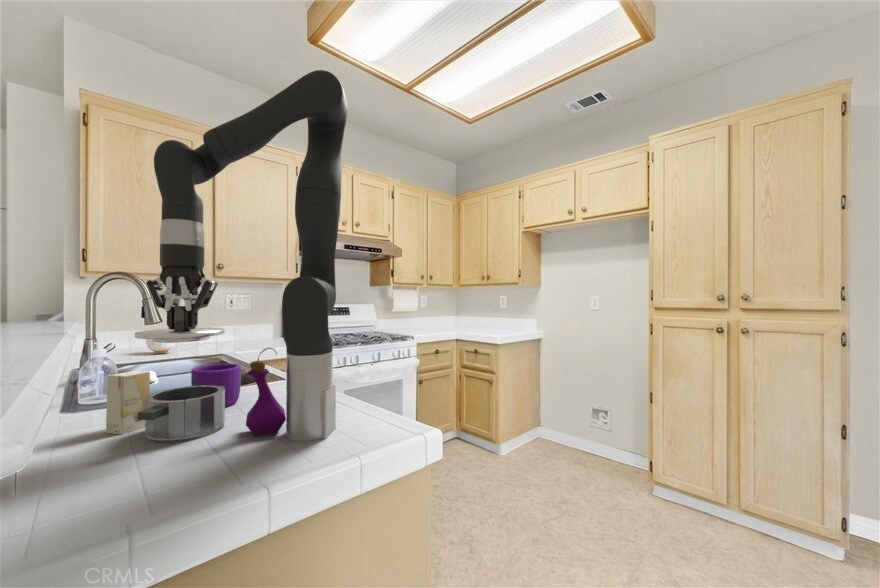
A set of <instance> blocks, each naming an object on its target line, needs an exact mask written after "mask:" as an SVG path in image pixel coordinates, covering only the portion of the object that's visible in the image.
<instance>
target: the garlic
mask: <svg viewBox="0 0 880 588" xmlns="http://www.w3.org/2000/svg"><path fill="white" fill-rule="evenodd" d="M148 371H149V372H150V384H152V385H156V384H157V383H158V382H159V379H158V377H157V374H156V372H155V371H152V370H148Z"/></svg>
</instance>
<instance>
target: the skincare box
mask: <svg viewBox="0 0 880 588" xmlns="http://www.w3.org/2000/svg"><path fill="white" fill-rule="evenodd" d="M149 371H150V370H133V371H128V372H121V373H114V374H109V375H107V378H106V380H107V384H106V385H107V386H106V418H105V419H106V420H105V423H106V424H105V433H106V434H114V435H124V434H125V435H126V434H127V433H131V432H133V431H137V430H140V429H143V428H145V420H137V419H138V412H140V411H143V410H145V398H146V397H147V396H149V395H150V394H151V393H150V389H151V388H150V387H151V386H150V385H151V383H150V372H149Z"/></svg>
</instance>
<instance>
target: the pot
mask: <svg viewBox="0 0 880 588" xmlns="http://www.w3.org/2000/svg"><path fill="white" fill-rule="evenodd" d="M225 411H226V407H225V385H200V386H192V385H188V386H181V387H175V388H170V389H164V390H159V391H156V392H154V393H150V395H149V396H147V397H146V398H145V410H143V411H140V412H138V419H137V420H145V427H144V433H145V439H146V441H148V442H152V443H158V444H159V443H160V444H161V443H163V444H165V443H167V444H168V443H169V444H171V443H181V442H188V441H193V440H196V439H200V438H204V437H207V436H210V435H212V434H213V435H214V434H216V433H217V432H219V431H221V430H222V429H223V428H224V427H225V421H226V419H225V418H226V412H225Z"/></svg>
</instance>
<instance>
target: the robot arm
mask: <svg viewBox="0 0 880 588" xmlns="http://www.w3.org/2000/svg"><path fill="white" fill-rule="evenodd" d="M348 107H349V106H348V100H347V96H346V94H345V90H344V87H343V85H342V83H341V80H340V79H339V78H338V77H337V76H336V75H335V74H334V73H332V72H330V71H328V70H323V69H320V70H319V69H317V70H313V71H310V72H307V74H305V75H303V76H302V77H300V78H298V79H297V80H296V81H294V82H292V83H291V84H290V85H288V86H287V87H285V88H284V89H283V90H281V91H279V92H278V93H277V94H275V95H274V96H272V97H271V98H269V99H268V100H266V101H264V102H263V103H261V104H260V105H258V106H256V107H254V108H253V109H251V110H250V111H248V112H245V113H244V114H241V115H240V116H238V117H235V118H232V119H231V120H229V121H226V122H225V123H224V122H223V123H221V124H219V125H217V126H215V127H212V128H211V129H209V130H207V131H205V133H204V134H203V136H202V139H203V144H201V145H200V146H199V147H197V148H195V149H193V148H191V147H190V146H188V145H187V144H185V143H184V142H182V141H178V140H175V139H168V140H164V141H162V142H161V143H160V144H158V146H157V147H156V150H155V151H154V155H153V167H154V174H155V178H156V182H157V185H158V189H159V193H160V197H161V222H160V223H161V224H160V229H159V230H160V231H159V266H160V267H161V272H160V274H159V277H157V278H155V279H153V280H152V279H151V280H150V279H149V280H147V281H146V286H147V288H148V291H149V293H150V295H151V298H152V299H153V301H154V303H155V306H156V308H158V309H162V310H165V311H166V326H167V327H168V329H170V330H174V306H181V300H183V301H184V306H185V308H186V310H187V311H185V329H186V330H191V329H195V327H198V322H199V321H198V320H199V318H198V316H199V314H198V312H199V311H200V310H201V309H203V308H204V309H205V308H208V306H209V304H210V301H211V299H212V297H213V295H214V293H215V291H216V288H217V287H218V284H219V283H218V281H217V280H212V279H211V280H210V279H209V278H207V277H206V274H205V273H204V270H203V269H204V267H205V229H204V203H203V199H202V198H201V197H200V195H199V194H198V193H197V192H196V188H195V186H196V185H197V186H198V185H202V184H204V183H206V182H209V181H210V180H212V179H213V178H215V177H216V176H217V175H218V174H219V173H221V172H222V171H223V170H225V169H226V168H227V167H228V166H229V165H231V164H232V163H235V162H237V161H240V160H242V159H244V158H246V157H248V156H250V155H253V154H255V153H256V152H258V151H260V150H261V149H262V148H264V147H265V146H266V145H268V144H269V143H270V142H271V141H272V140H273V139H274V138H275V137H276V136H277V135H278V134H279V133H281V131H283V130H285V129H286V128H287V127H289V126H291V125H293V124H295V123H298V121H301V120H305V119H306V120H307V148H306V154H305V156H304V159H303V162H302V164H301V167H300V170H299V173H298V177H297V180H296V185H295V187H296V188H295V198H294V199H295V201H294V217H295V224H296V229H297V234H298V235H297V236H298V238H299V239H298V240H299V245H300V251H301V258H300V259H301V260H300V261H301V263H300V269H299V276H298V277H296V278H293V279H292V280H290V281H289V282H288V283H287V284H286V286H285V288H284V290H283V293H282V297H281V298H282V300H281V315H282V316H281V317H282V318H281V319H282V321H281V322H282V337H283V341H284V343H285V346H286V347H285V349H286V374H285V375H286V385H285V387H286V399H285V400H286V401H285V402H286V403H285V405H286V412H285V417H286V420H285V422H286V425H285V426H286V427H285V429H286V434H285V435H286V439H288V440H290V441H294V442H311V441H317V440H326V439H328V437H330V435H331V434H332V433H333V432H334V431H335V430H336V428H337V427H336V424H337V423H336V421H337V419H336V417H337V416H336V414H337V413H336V409H337V408H336V400H337V399H336V397H337V396H336V393H337V391H336V390H337V388H336V387H337V386H336V385H334V384H333V339H332V337H331V334H330V331H329V314H330V313H331V312H332V311H333V308H335V304H336V300H337V289H336V288H337V287H336V266H335V265H336V250H337V242H338V234H339V222H340V214H341V213H340V212H341V197H342V149H343V148H342V147H343V142H344V136H345V130H346V124H347V119H348V113H349V111H348V110H349V108H348ZM199 288H200V291H199Z"/></svg>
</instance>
